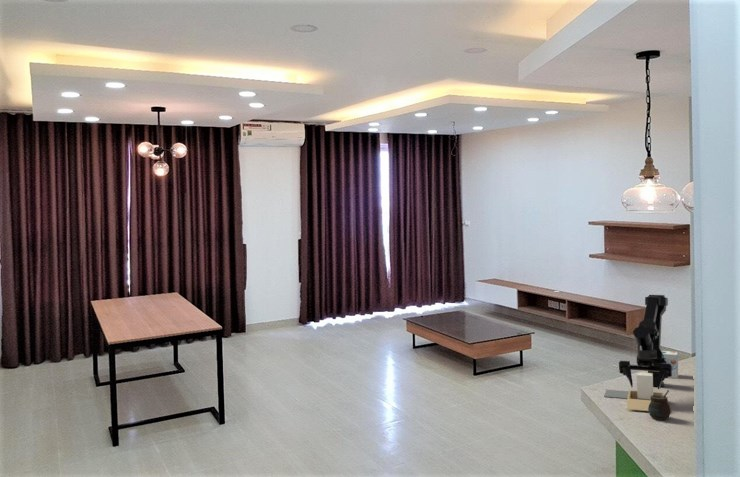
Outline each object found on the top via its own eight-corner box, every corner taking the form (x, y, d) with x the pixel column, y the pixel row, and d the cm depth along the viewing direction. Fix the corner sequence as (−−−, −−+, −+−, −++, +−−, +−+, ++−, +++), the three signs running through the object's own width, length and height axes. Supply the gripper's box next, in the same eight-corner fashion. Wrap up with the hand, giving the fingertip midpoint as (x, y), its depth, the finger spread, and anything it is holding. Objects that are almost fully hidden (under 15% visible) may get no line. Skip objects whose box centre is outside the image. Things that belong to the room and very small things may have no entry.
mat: (606, 390, 256) (606, 389, 256) (629, 392, 252) (629, 391, 252) (604, 397, 247) (604, 396, 247) (628, 399, 243) (628, 398, 243)
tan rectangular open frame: (629, 396, 246) (629, 387, 246) (663, 399, 241) (663, 390, 240) (627, 410, 229) (626, 401, 229) (663, 414, 223) (662, 404, 223)
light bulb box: (651, 376, 274) (651, 352, 274) (652, 373, 280) (651, 349, 280) (678, 378, 269) (677, 354, 269) (678, 375, 275) (677, 351, 275)
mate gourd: (643, 417, 221) (642, 389, 221) (659, 414, 224) (658, 387, 223) (659, 423, 214) (658, 394, 214) (675, 419, 217) (675, 391, 217)
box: (638, 402, 238) (637, 372, 238) (653, 404, 235) (652, 373, 235) (637, 406, 234) (636, 375, 233) (653, 407, 231) (652, 376, 231)
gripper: (618, 340, 242) (617, 374, 232) (670, 342, 233) (672, 378, 224) (620, 355, 249) (619, 389, 239) (671, 358, 241) (672, 393, 231)
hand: (645, 387), depth 233 cm, fingers open, 9 cm apart
